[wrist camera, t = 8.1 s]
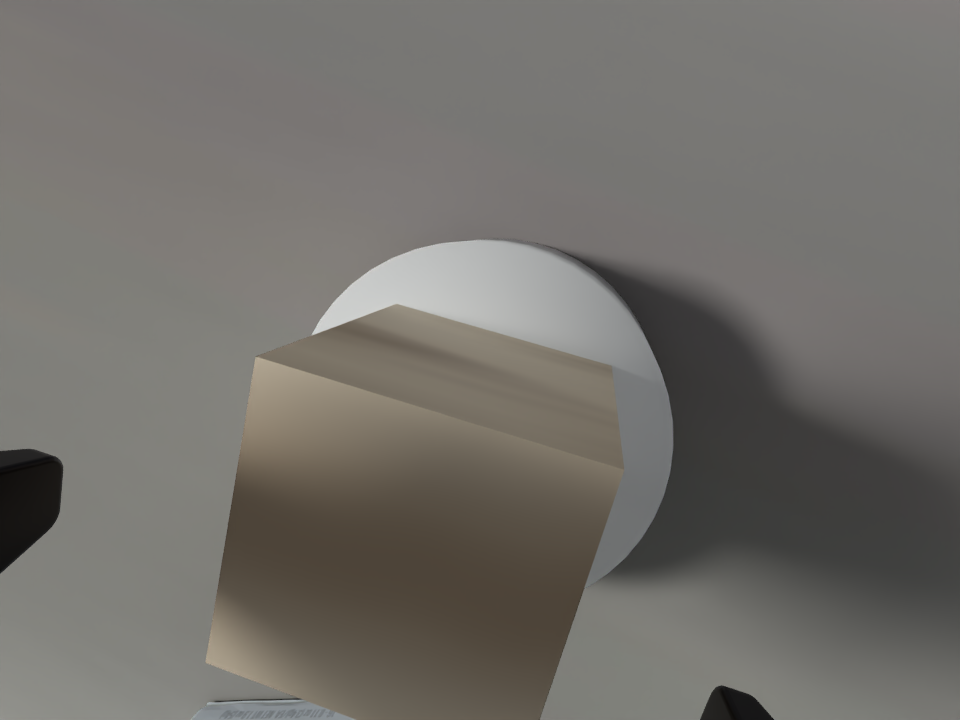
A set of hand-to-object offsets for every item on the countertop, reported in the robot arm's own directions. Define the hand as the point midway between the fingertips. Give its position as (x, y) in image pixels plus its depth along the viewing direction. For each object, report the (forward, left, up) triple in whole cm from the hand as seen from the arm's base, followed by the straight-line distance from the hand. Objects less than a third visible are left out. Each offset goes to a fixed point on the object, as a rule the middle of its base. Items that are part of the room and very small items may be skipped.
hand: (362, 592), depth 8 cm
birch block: (0, 0, -7) cm, 7 cm away
